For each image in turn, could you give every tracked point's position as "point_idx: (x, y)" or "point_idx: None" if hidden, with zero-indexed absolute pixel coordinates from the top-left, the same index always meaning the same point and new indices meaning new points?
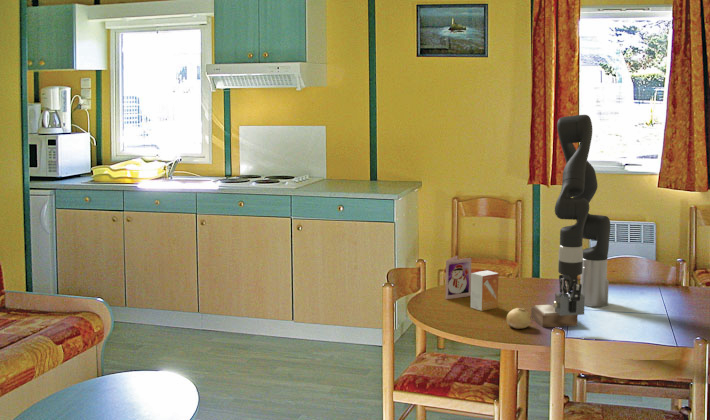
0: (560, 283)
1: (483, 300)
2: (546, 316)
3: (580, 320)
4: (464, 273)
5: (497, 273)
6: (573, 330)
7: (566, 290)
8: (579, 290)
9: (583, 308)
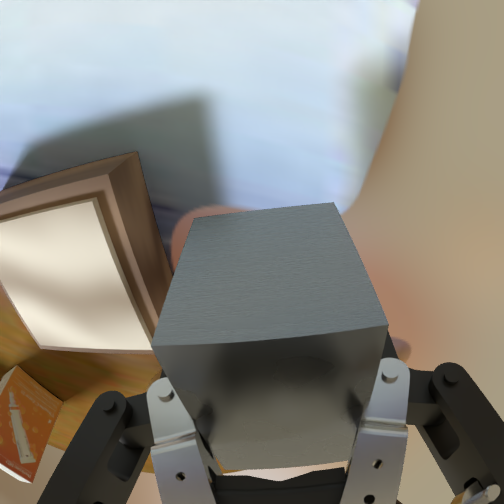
0: (122, 501)
1: (50, 422)
2: None
3: (43, 121)
4: None
5: None
6: (228, 188)
7: (214, 462)
8: None
9: (347, 237)
